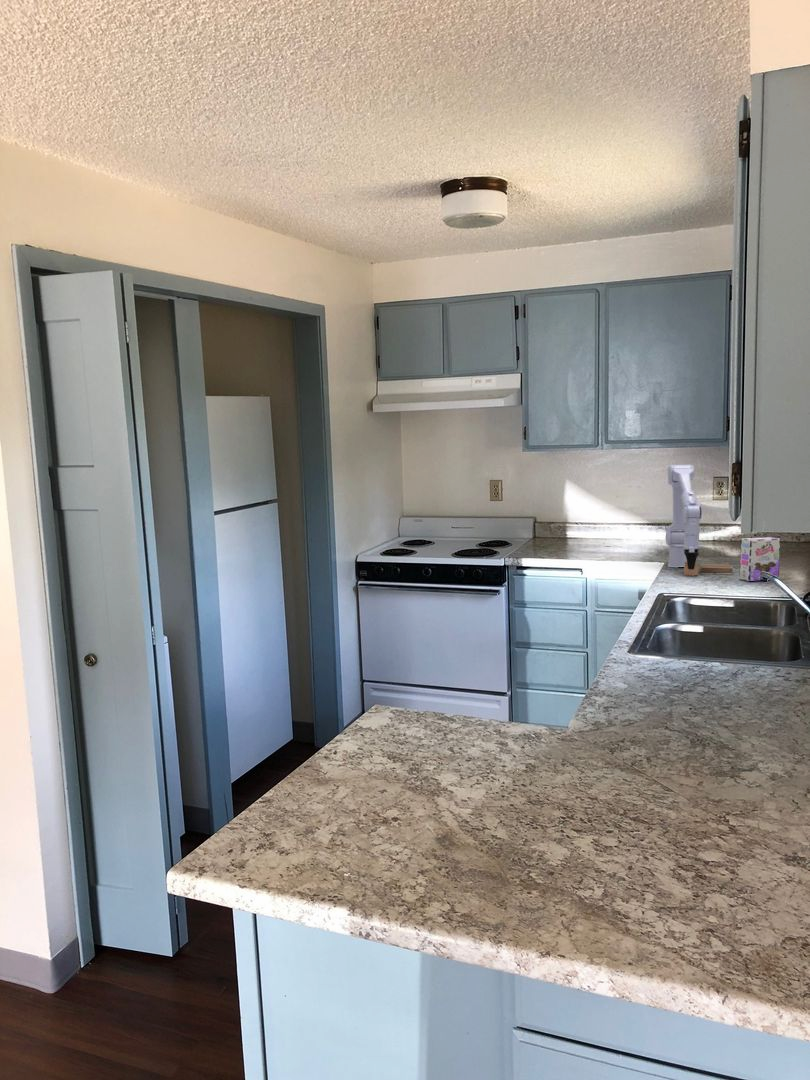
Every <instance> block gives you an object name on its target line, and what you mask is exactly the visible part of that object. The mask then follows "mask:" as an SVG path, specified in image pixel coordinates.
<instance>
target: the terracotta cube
mask: <svg viewBox="0 0 810 1080" xmlns="http://www.w3.org/2000/svg"><path fill="white" fill-rule="evenodd" d="M698 564H699V563H698V561H696V562H695V567H694V569H688V565H687V562H685V561H684V568H683V575H684V576H694V575H697V576H698V567H699V565H698Z"/></svg>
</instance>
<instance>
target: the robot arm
mask: <svg viewBox="0 0 810 1080" xmlns="http://www.w3.org/2000/svg"><path fill="white" fill-rule="evenodd" d="M694 476H695V467H694V465H693V464H669V466H668V469H667V482H668V483H667V484H669V485H671V487H672V523H671V524H670V525H669V526H667V527H666V529H665V530H666V531H665V544H666V545H667V546H668V548H669V551H668V552H669V553H668V555H669V556H668V563H667V568H678V567H684V561H685V562H687V565H688V569H694V567H695V562H697V558H698V556H699V554H700V552H699V549H700V548H701V549H702V548H703V545H700V520H701V519H702V515H703V508H702V505H701V504H700V502H698V499H697V495H696V492H695V491H693V489H692V481H693V478H694Z"/></svg>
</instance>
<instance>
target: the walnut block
mask: <svg viewBox="0 0 810 1080" xmlns="http://www.w3.org/2000/svg"><path fill="white" fill-rule="evenodd" d="M699 571H701V572H700V574H701V573H732V574H733V566H732V565H731V564H729V563H728V564H727V563H725V564H724V563H699Z"/></svg>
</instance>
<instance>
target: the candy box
mask: <svg viewBox="0 0 810 1080" xmlns="http://www.w3.org/2000/svg"><path fill="white" fill-rule="evenodd" d="M740 541H741V542H740V559H739V580H740V579H741V581H743V580H745V582H747V581H755V582H761V581H760V578H759V577H760V573H761V572H762V571H766V572H769V573H771V574H773V575H776V576H777V577H780V554H781V553H780V552H781V551H780V550H781V538H778V537H749V538H748V537H747V538H741V540H740Z"/></svg>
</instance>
